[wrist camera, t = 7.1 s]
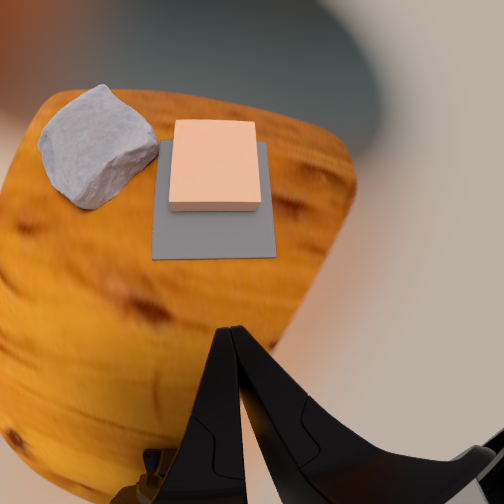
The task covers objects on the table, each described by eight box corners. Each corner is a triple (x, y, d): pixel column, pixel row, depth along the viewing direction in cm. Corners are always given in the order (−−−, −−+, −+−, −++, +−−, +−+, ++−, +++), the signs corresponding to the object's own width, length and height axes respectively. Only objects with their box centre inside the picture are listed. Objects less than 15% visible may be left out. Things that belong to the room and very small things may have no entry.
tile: (261, 202, 21) (254, 122, 23) (168, 201, 20) (175, 119, 21) (255, 212, 23) (250, 135, 25) (171, 212, 22) (176, 134, 23)
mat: (275, 257, 23) (276, 256, 22) (152, 259, 21) (151, 259, 20) (265, 144, 25) (265, 142, 25) (160, 142, 23) (160, 140, 23)
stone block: (97, 228, 22) (171, 150, 23) (69, 217, 17) (157, 123, 18) (48, 160, 23) (109, 96, 24) (24, 144, 18) (92, 72, 19)
